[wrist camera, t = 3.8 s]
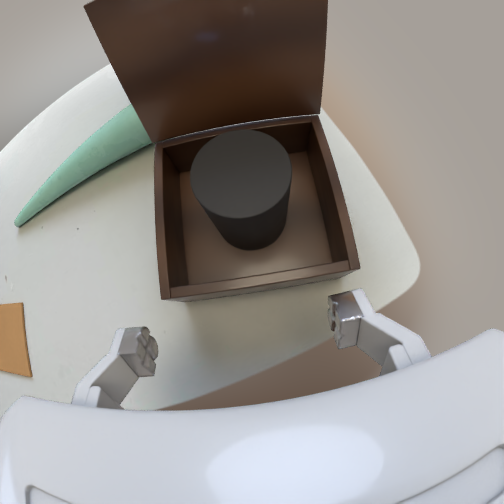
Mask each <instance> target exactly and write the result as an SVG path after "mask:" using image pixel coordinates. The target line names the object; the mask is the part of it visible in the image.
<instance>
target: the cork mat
mask: <svg viewBox="0 0 504 504" xmlns="http://www.w3.org/2000/svg"><path fill="white" fill-rule="evenodd" d="M0 370H2V371H6V372H10V373H15V374H19V375H24V376H29V377H32V372H31V367H30V361H29V355H28V349H27V341H26V333H25V323H24V310H23V303H12V304H2V305H0Z"/></svg>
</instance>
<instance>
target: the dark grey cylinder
mask: <svg viewBox="0 0 504 504" xmlns="http://www.w3.org/2000/svg"><path fill="white" fill-rule="evenodd" d="M291 181H292V164H291V160H290V157H289V155H288V153H287V151H286V150H285V148H284V147H283V146H282V145H281V144H280V143H279V142H278V141H277V140H276V139H274V138H273V137H271V136H269V135H267V134H265V133H263V132H260V131H255V130H248V129H240V130H233V131H228V132H225V133H222V134H220V135H218V136H216V137H214V138H213V139H211V140H210V141H209V142H207V143H206V144H205V145H204V146H203V147H202V148H201V149H200V151H199V152H198V153H197V155H196V157H195V159H194V161H193V163H192V167H191V171H190V184H191V188H192V191H193V193H194V196H195V197H196V199H197V200H198V202H199V203H200V205H201V206H202V208H203V209H204V211H205V212H206V213H207V215H208V216H209V218H210V219H211V221H212V222H213V224H214V225H215V226H216V228H217V229H218V231H219V232H220V234H221V235H222V237H223V238H224V239H225V240H226V241H227V242H228V243H229V244H231V245H232V246H234V247H236V248H239V249H242V250H258V249H262V248H265V247H267V246H269V245H271V244H272V243H273V242H275V241H276V240H277V239H278V237H279V236H280V235H281V233H282V232H283V229H284V227H285V224H286V217H287V210H288V203H289V196H290V188H291Z"/></svg>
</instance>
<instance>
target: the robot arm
mask: <svg viewBox="0 0 504 504" xmlns="http://www.w3.org/2000/svg"><path fill="white" fill-rule="evenodd" d="M328 304H329V307H330V308H329V309H328V320H329V324H330V328H331V330H332V331H334V339H335V342H336V344H337V347H338V349H343V348H347V347H351V346H355V345H357V347H358V348H360V349H361V350H362V351H363V352H365V353H366V354H367V355H368V356H370V357H371V358H372V359H373V360H375V361H376V362H377V363H378V364H380V365H381V366H382V370H381V373H380V375H379V377H376V378H373V379H369V380H366V381H363V382H360V383H356V384H352V385H349V386H345V387H342V388H337V389H334V390H330V391H325V392H321V393H317V394H312V395H308V396H303V397H298V398H293V399H287V400H281V401H275V402H269V403H262V404H255V405H248V406H239V407H229V408H218V409H204V410H182V411H145V410H125V409H124V408H122V407H121V406H120V404H121V402H122V401H123V400H124V398H125V397H126V395H127V394H128V392H129V391H130V390H131V388H132V387H133V385H134V384H135V383H136V381H137V380H138V378H139V377H147V376H154V374H155V368H156V364H155V362H154V360H155V359H156V358H157V357H158V345H157V342H156V340H155V339H154V338H153V337H152V336H150V335H149V334H150V331H149V329H148V328H147V327H132V328H121V329H117V330H116V332H115V335H114V338H113V341H112V344H111V347H110V350H109V353H108V355H105V356H104V357H103V358H102V359H101V360H100V361H99V362H98V363H97V364H96V365H95V366H94V367H93V368H92V369H91V370H90V371H89V372H88V373H87V374H86V375H85V376H84V377H83V378H82V379H81V380H80V382H79V383H78V384H77V386H76V389H75V392H74V395H73V398H72V402H71V404H67V403H61V402H55V401H50V400H45V399H40V398H35V397H31V396H26V395H24V396H21V397H20V398H19V399H17V400H16V401H15V402H14V403H13V404H12V405H11V406H10V407H9V408H8V409H7V410H6V411H5V413H4V415H3V416H2V418H1V421H0V504H504V332H502V331H500V330H498V329H495V328H492V329H489V330H486V331H485V332H483V333H481V334H479V335H477V336H475V337H473V338H471V339H469V340H467V341H465V342H463V343H461V344H459V345H457V346H455V347H453V348H451V349H449V350H446V351H444V352H442V353H440V354H438V355H435V356H433V357H432V356H431V354H430V352H429V351H428V349H427V347H426V345H425V344H424V342H423V340H422V338H421V337H420V335H418V334H416V333H414V332H413V331H411V330H409V329H407V328H405V327H404V326H402V325H400V324H398V323H396V322H395V321H393V320H391V319H389V318H387V317H386V316H384V315H382V314H380V313H377V314H376V312H375V311H374V309H373V307H372V305H371V303H370V301H369V300H368V298H367V296H366V294H365V292H364V291H363V289H361V288H360V289H356V290H352V291H347V292H343V293H339V294H335V295H331V296H328Z"/></svg>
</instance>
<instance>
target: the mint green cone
mask: <svg viewBox="0 0 504 504" xmlns="http://www.w3.org/2000/svg"><path fill="white" fill-rule="evenodd" d="M150 143H152V141H151V140H150V138H149V136H148V134H147V132H146V130H145V128H144V127H143V125H142V123H141V121H140V119H139V117H138V115H137V114H136V112H135V110H134V108H133V106H132V104H130V105H129V106H127V107H126V108H124V109H123V110H122V111H120V112H119V113H118V114H117V115H115V116H114V117H113V118H112V119H110V120H109V121H108V122H107V123H105V124H104V125H103V126H102V127H101V128H100V129H98V130H97V131H96V132H95V133H94V134H93V135H92V136H90V137H89V138H88V139H87V140H86V141H85V142H84V143H83V144H82V145H81V146H80V147H79V148H78V149H76V150H75V151H74V152H73V153H72V154H71V155H70V156H69V157H68V158H67V159H66V160H65V161H64V162H63V163H62V164H61V165H60V166H59V168H58V169H57V170H56V171H55V172H54V173H53V174H52V175H51V176H50V177H49V178H48V179H47V181H46V182H45V183H44V184H43V185H42V186H41V187H40V188H39V190H38V191H37V192H36V193H35V194H34V196H33V197H32V198H31V199H30V201H29V202H28V203H27V204H26V206H25V207H24V208H23V209H22V211H21V212H20V213H19V215H18V216H17V218H16V219H15V222H14V223H15V226H16V227H19V226H21V225H22V224H23V223H24V222H26V221H27V220H28V219H30V218H31V217H32V216H34V215H35V214H36V213H37V212H39V211H40V210H41V209H43V208H44V207H46V206H47V205H48V204H50V203H51V202H52V201H54V200H55V199H57V198H58V197H59V196H61V195H62V194H64V193H65V192H67V191H68V190H70V189H71V188H73V187H74V186H76V185H77V184H79V183H80V182H82V181H83V180H85V179H86V178H88V177H90V176H91V175H93V174H95V173H96V172H98V171H100V170H101V169H103V168H105V167H106V166H108V165H110V164H112V163H113V162H115V161H117V160H119V159H121V158H123V157H125V156H127V155H129V154H131V153H133V152H135V151H137V150H138V149H140V148H142V147H144V146H146V145H148V144H150Z"/></svg>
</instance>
